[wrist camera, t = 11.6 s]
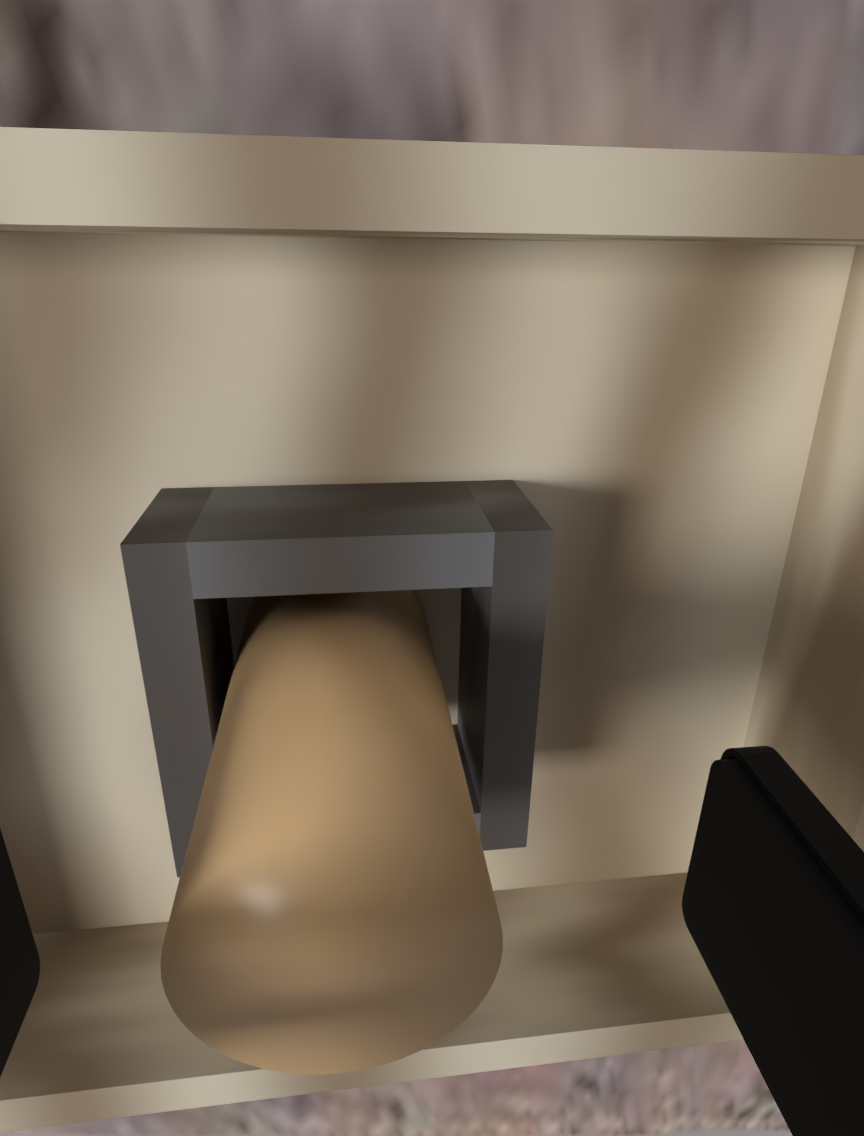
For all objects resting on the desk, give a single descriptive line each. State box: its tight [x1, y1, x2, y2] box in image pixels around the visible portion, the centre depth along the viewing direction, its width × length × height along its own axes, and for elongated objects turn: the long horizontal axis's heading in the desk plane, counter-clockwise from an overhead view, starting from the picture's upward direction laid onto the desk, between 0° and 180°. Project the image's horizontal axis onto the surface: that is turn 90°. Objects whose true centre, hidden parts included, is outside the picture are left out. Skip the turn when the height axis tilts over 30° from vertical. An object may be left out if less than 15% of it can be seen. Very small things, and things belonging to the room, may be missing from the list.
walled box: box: [0, 127, 864, 1132], centre depth 14 cm, size 22×18×5 cm
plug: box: [160, 590, 503, 1075], centre depth 12 cm, size 4×4×8 cm
